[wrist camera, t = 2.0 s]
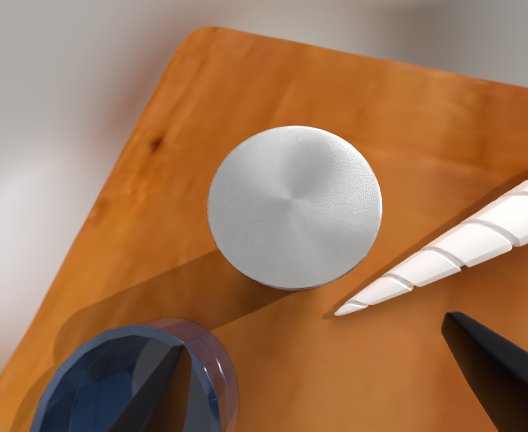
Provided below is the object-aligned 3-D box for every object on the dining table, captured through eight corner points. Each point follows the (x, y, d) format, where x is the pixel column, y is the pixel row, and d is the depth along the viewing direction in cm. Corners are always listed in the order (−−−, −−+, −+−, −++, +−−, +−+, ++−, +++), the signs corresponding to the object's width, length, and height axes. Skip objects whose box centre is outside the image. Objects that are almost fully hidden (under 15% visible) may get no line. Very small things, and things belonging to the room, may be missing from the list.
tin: (335, 283, 20) (412, 269, 7) (262, 298, 20) (218, 310, 8) (316, 213, 22) (352, 108, 9) (249, 227, 22) (196, 144, 9)
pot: (251, 479, 17) (236, 555, 12) (92, 508, 17) (15, 592, 12) (226, 305, 20) (206, 309, 15) (93, 332, 20) (34, 345, 16)
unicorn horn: (310, 268, 20) (316, 261, 16) (568, 151, 21) (647, 112, 16) (338, 327, 19) (355, 339, 14) (614, 199, 20) (715, 171, 15)
